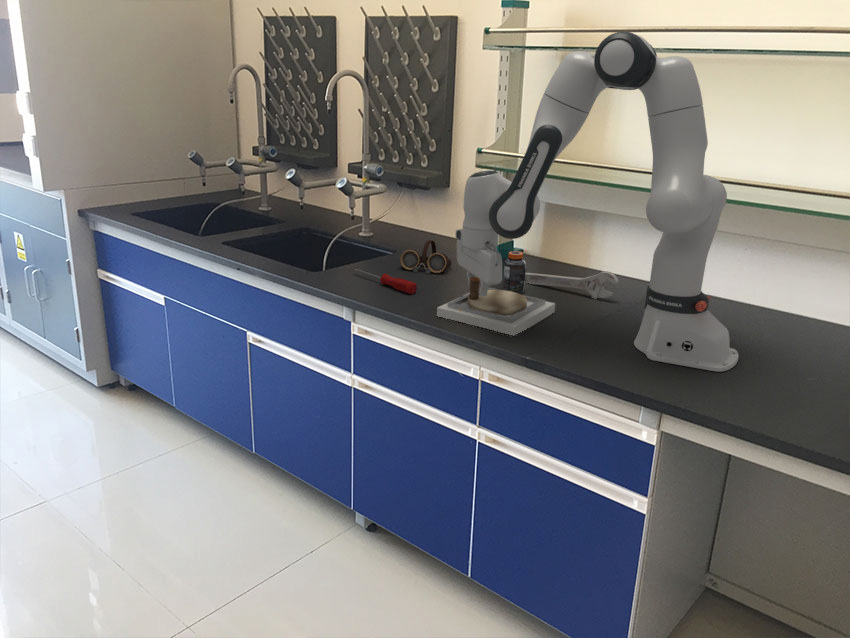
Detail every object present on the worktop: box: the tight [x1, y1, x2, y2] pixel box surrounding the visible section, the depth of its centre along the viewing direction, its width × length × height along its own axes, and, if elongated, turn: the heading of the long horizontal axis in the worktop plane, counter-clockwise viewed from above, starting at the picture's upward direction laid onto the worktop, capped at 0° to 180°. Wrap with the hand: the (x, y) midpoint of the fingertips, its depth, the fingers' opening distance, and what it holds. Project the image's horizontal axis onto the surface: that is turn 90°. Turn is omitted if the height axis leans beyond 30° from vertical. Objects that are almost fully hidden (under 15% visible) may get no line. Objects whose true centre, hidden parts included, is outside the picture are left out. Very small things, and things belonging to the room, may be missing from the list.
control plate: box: [436, 286, 556, 336], centre depth 183 cm, size 22×22×4 cm
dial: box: [468, 277, 527, 314], centre depth 182 cm, size 15×15×7 cm
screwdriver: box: [353, 268, 418, 295], centre depth 205 cm, size 4×25×4 cm, turn 45°
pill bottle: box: [502, 250, 527, 294], centre depth 201 cm, size 6×6×11 cm
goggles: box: [400, 239, 452, 275], centre depth 222 cm, size 15×13×10 cm
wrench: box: [525, 270, 619, 300], centre depth 202 cm, size 8×2×30 cm
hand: (477, 291), depth 180 cm, fingers open, 5 cm apart
